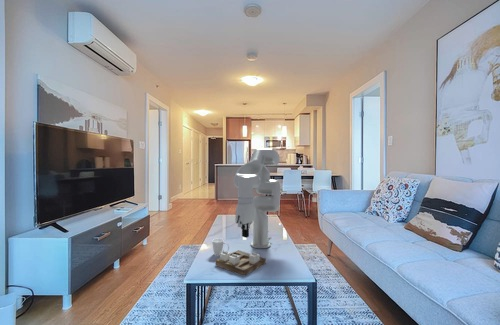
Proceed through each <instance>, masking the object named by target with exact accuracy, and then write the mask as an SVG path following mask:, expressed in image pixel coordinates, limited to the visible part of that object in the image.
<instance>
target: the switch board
mask: <svg viewBox="0 0 500 325" xmlns="http://www.w3.org/2000/svg"><path fill="white" fill-rule="evenodd" d="M232 254H235V255H239V256H240V263H238V264H236V265H233V264H231V263H229V260H228V261H225V262H224V261H222V260H220V257H219V258H217V259H215V266H216V267H220V268H222V269H225V270H228V272H229V271H230V272H232V273H235V274H237V275H240V276H243V277H245V276H247V275H248V274H250V273H252V272H253V271H256V270H257V269H260V268H261V267H262V266H264V265H266V264H267V258H266V257H261V256H259V262H257V263H255V264H251V263H249V255H250V254H251V253H249V252H246V251H242V250H235V251H233V252H230V256H232Z"/></svg>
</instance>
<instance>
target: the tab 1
mask: <svg viewBox="0 0 500 325" xmlns="http://www.w3.org/2000/svg"><path fill="white" fill-rule="evenodd" d="M230 254H231V252H230V251H227V252H226V250H222V253H220V255H219V258H220V260H222V261H224V262H225V261H228V260H229V256H230Z"/></svg>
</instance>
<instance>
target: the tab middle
mask: <svg viewBox="0 0 500 325" xmlns="http://www.w3.org/2000/svg"><path fill="white" fill-rule="evenodd" d="M229 263H231V264H233V265H236V264H238V263H240V256H239V255H235V254H232V256H229Z"/></svg>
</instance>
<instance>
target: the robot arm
mask: <svg viewBox="0 0 500 325" xmlns="http://www.w3.org/2000/svg"><path fill="white" fill-rule="evenodd" d="M280 162H281V158H280V154H279V152H278V151H277V150H276V149H275V148H256V149H254V151H253V152H252V153H251V157H250V159H249V161H248V162H247V163H244V164H243V165H241V166H239V168H238V169H237V170H236V173H235V175H234V177H233V185H234V187H235V188H237V204H236V209H235V219H234V220H235V224H237V227H238V228H240V229H241V236H242V237H243V238H249V237H250V230H249V229H251V227H250V226H251V224H252V225H253V226H252V227H253V229H252V233H253V235H252V241H251V242H250V246H251V247H252V248H255V249H260V250H261V249H268V248H270V247H271V243H270V242H269V241H270V240H272V236H270V235H269V217H268V214H267V213H266V212H271V213H273V212H274V213H275V212H276V213H277V212H278V211H279V210H280V207H281V206H280V204H281V189H282V188H281V183H280V181H279V180H277V179H271V172H270V170H269V169H268V168H267V166H277V165H279V163H280ZM254 190H255V192H256V193H257V194H260V195H255V196H254ZM270 195H271V196H270Z"/></svg>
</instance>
